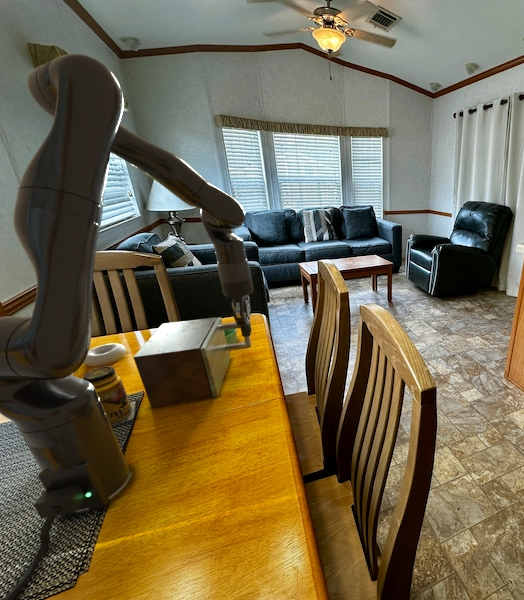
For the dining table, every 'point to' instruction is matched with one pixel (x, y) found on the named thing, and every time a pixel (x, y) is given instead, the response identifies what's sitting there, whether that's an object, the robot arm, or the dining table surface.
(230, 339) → the ramekin
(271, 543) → the dining table surface
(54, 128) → the robot arm
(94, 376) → the condiment
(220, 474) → the dining table surface
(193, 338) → the cupboard
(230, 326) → the door
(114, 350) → the donut
